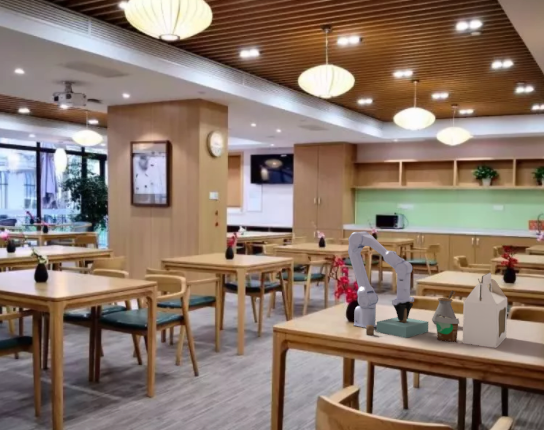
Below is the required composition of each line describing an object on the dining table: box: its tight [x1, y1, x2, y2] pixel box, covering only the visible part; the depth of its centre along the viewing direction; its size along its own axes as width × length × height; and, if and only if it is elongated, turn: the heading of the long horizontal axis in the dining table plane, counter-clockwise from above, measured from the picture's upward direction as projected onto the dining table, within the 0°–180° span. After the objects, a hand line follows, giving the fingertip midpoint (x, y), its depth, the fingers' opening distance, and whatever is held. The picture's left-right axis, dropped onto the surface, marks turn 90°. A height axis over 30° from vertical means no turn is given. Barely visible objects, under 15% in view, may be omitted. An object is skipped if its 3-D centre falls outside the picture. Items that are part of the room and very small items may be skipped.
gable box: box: [462, 272, 508, 349], centre depth 242 cm, size 22×13×28 cm, turn 148°
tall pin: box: [399, 308, 407, 323], centre depth 256 cm, size 3×3×8 cm
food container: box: [435, 314, 460, 343], centre depth 241 cm, size 12×6×10 cm, turn 21°
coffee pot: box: [431, 290, 457, 327], centre depth 273 cm, size 21×12×15 cm, turn 149°
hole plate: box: [376, 316, 429, 339], centre depth 256 cm, size 15×18×4 cm
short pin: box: [365, 325, 375, 337], centre depth 249 cm, size 3×3×4 cm
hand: (402, 319), depth 256 cm, fingers closed on tall pin, 3 cm apart
